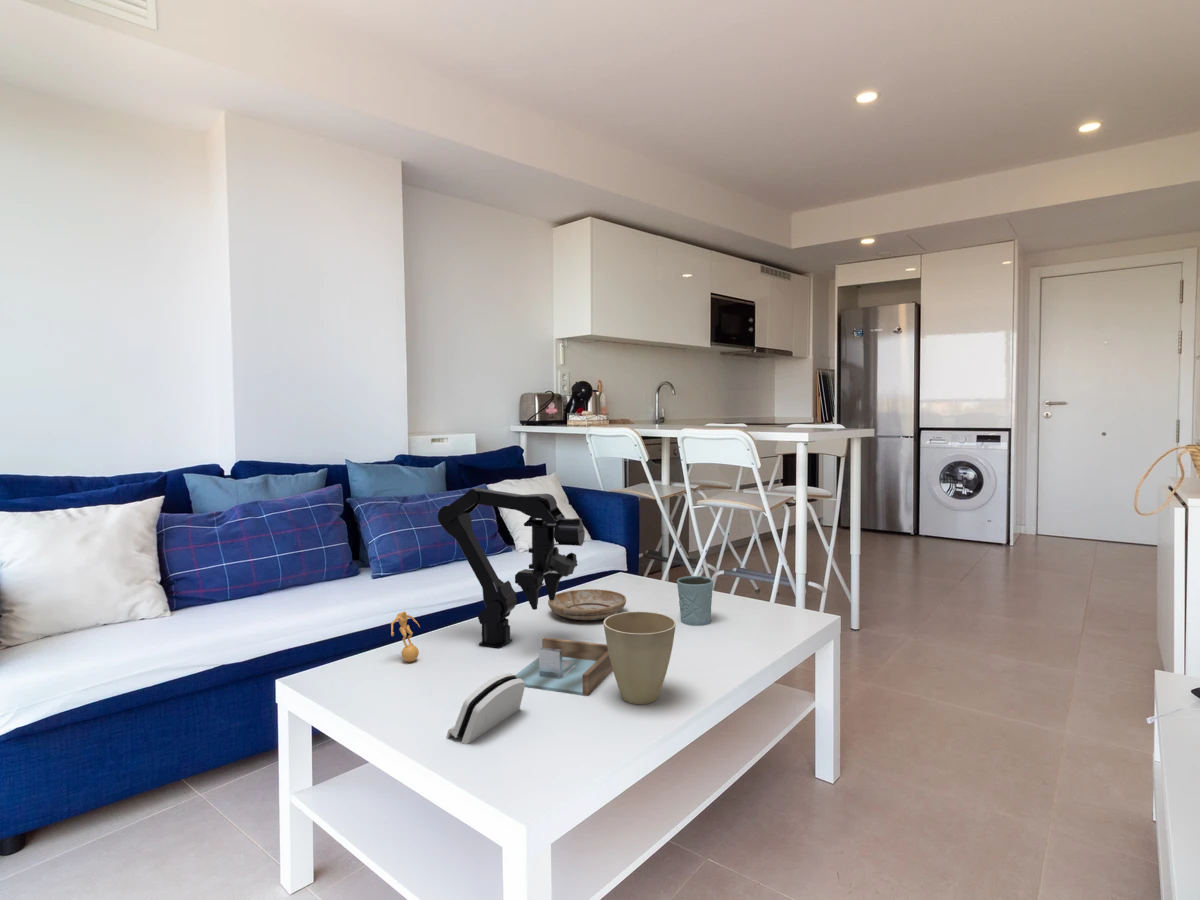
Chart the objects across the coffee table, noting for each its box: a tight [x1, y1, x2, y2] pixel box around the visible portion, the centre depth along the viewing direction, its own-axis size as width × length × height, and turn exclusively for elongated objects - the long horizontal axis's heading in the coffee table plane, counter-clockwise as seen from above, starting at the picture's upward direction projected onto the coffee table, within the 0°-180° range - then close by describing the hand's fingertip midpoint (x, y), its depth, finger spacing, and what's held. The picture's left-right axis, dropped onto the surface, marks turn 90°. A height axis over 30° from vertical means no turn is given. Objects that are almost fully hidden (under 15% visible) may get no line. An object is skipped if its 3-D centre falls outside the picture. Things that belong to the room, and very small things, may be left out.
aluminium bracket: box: [538, 647, 574, 679], centre depth 151 cm, size 8×5×6 cm, turn 159°
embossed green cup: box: [676, 575, 714, 627], centre depth 189 cm, size 10×10×12 cm
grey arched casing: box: [446, 672, 526, 745], centre depth 126 cm, size 17×5×10 cm, turn 152°
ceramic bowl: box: [547, 588, 627, 621], centre depth 198 cm, size 23×24×5 cm
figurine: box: [390, 610, 421, 663], centre depth 160 cm, size 8×6×12 cm
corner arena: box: [515, 636, 613, 697], centre depth 151 cm, size 19×19×4 cm
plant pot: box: [603, 610, 677, 705], centre depth 137 cm, size 15×15×16 cm
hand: (543, 604), depth 169 cm, fingers open, 9 cm apart
